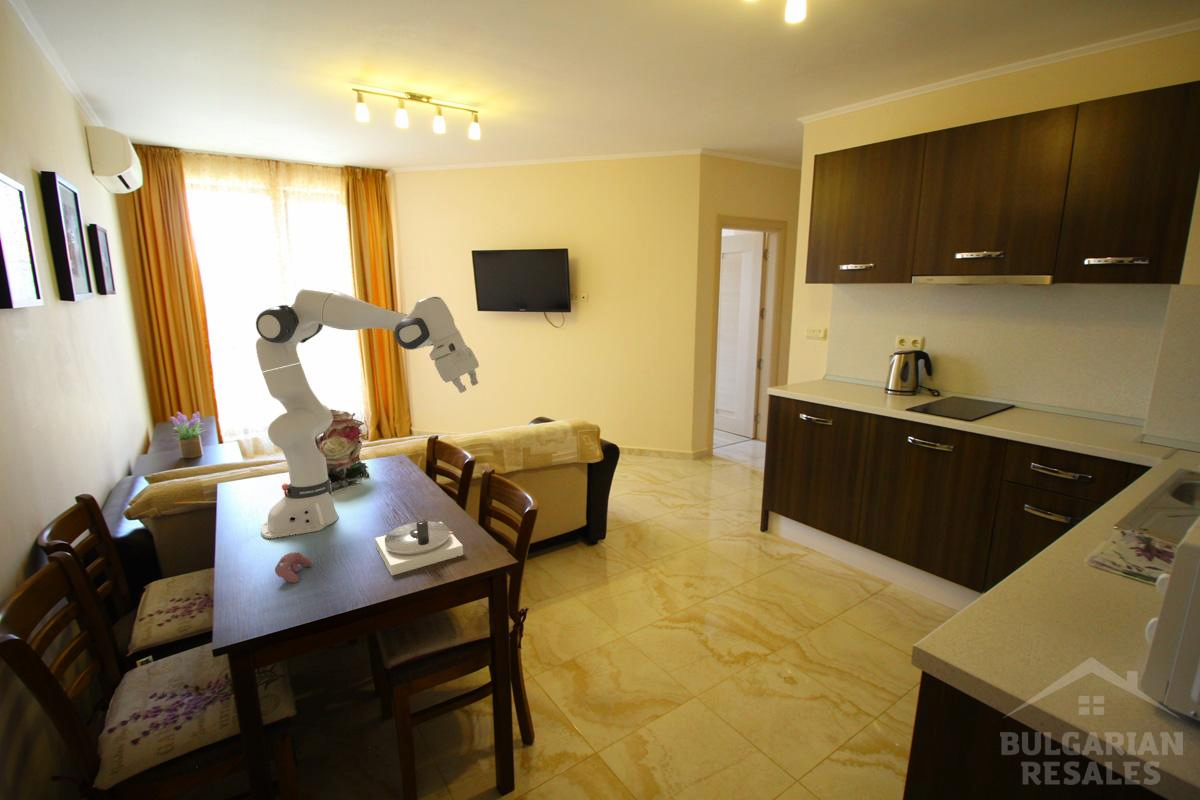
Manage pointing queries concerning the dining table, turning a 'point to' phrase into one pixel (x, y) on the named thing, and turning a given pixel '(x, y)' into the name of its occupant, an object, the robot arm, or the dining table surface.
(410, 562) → the wheel base
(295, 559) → the pink curved piece
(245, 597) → the dining table surface
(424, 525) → the handwheel
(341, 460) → the rose bouquet
